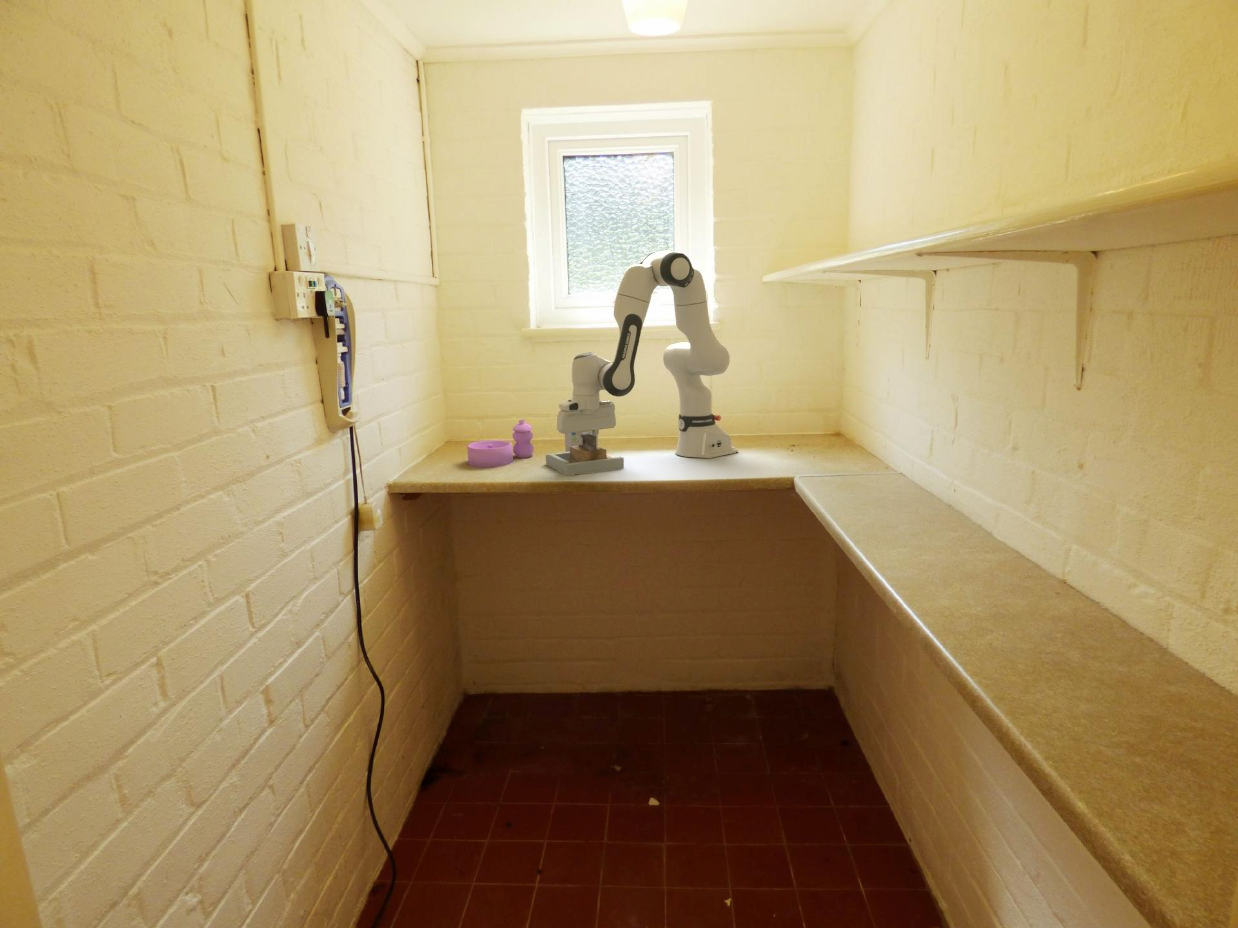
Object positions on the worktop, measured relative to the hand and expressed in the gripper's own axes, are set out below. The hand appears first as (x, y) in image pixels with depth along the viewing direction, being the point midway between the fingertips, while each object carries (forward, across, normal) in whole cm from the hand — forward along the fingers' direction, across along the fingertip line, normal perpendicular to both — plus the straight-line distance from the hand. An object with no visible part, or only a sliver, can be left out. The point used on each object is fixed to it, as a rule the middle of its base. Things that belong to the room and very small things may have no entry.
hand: (587, 443), depth 240 cm
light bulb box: (+8, -6, -18) cm, 20 cm away
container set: (+8, +22, -24) cm, 34 cm away
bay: (+8, +2, 0) cm, 8 cm away
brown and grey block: (+8, 0, 0) cm, 8 cm away
